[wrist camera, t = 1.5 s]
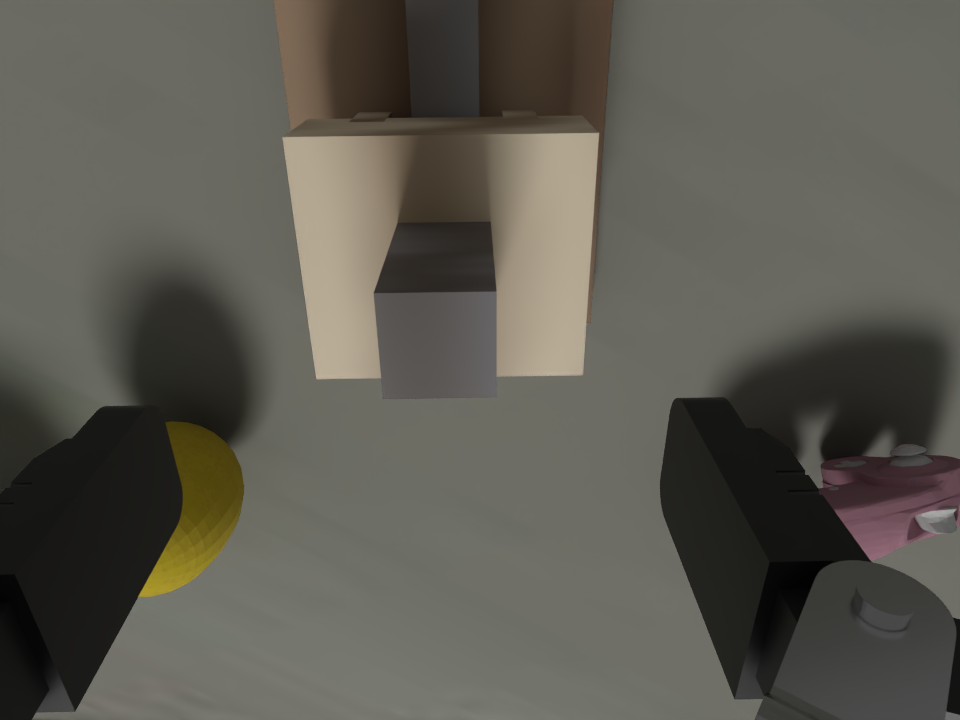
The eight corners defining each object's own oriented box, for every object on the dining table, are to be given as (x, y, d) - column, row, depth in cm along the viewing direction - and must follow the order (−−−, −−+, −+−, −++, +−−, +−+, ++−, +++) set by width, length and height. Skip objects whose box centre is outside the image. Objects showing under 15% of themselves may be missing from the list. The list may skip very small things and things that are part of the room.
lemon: (106, 413, 28) (-16, 551, 21) (219, 366, 27) (131, 494, 20) (183, 509, 31) (96, 661, 24) (290, 469, 30) (233, 615, 23)
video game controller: (896, 422, 31) (1000, 445, 24) (917, 521, 31) (1026, 573, 24) (678, 462, 32) (716, 496, 25) (697, 558, 32) (741, 619, 25)
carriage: (576, 109, 21) (642, 178, 13) (565, 316, 24) (613, 477, 16) (316, 112, 21) (217, 183, 13) (340, 320, 24) (273, 482, 16)
